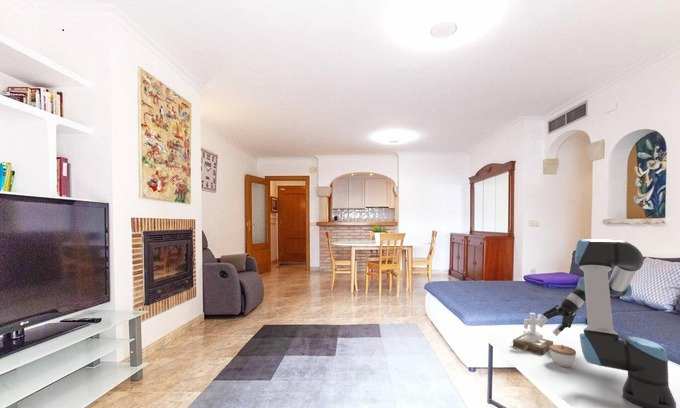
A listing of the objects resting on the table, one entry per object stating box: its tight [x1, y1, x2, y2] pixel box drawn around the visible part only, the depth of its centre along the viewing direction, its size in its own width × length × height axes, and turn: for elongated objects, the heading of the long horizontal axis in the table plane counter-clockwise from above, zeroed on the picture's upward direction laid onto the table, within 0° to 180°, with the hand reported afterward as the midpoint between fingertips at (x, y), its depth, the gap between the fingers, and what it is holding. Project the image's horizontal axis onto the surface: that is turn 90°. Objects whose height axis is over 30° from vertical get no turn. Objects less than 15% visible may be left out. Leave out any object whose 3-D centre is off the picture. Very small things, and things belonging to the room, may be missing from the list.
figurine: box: [523, 312, 544, 341], centre depth 180 cm, size 7×9×15 cm
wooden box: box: [512, 333, 554, 356], centre depth 179 cm, size 20×15×4 cm
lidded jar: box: [549, 344, 577, 368], centre depth 158 cm, size 11×11×9 cm
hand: (546, 329), depth 180 cm, fingers open, 13 cm apart
